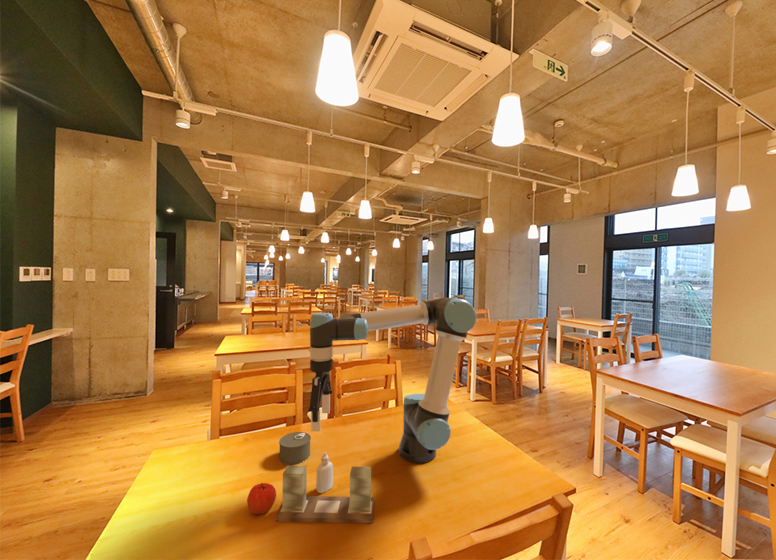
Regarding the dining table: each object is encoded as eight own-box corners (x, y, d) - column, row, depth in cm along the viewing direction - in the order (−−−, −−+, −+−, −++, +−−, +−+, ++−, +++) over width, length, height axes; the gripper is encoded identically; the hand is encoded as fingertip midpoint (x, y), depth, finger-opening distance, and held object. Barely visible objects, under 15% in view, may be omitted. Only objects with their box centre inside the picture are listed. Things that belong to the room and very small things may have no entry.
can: (272, 461, 119) (272, 443, 119) (292, 446, 130) (292, 429, 130) (297, 468, 114) (297, 449, 114) (316, 452, 126) (316, 435, 126)
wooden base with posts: (374, 501, 97) (374, 462, 97) (372, 523, 88) (373, 480, 88) (286, 499, 98) (286, 460, 98) (275, 521, 89) (276, 478, 89)
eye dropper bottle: (315, 486, 104) (315, 450, 104) (332, 482, 106) (332, 447, 106) (316, 494, 100) (317, 457, 100) (334, 491, 102) (334, 454, 102)
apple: (241, 519, 89) (242, 491, 90) (255, 499, 97) (255, 474, 98) (268, 520, 89) (269, 492, 89) (279, 501, 97) (280, 475, 97)
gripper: (319, 350, 117) (319, 406, 117) (298, 368, 92) (298, 439, 92) (339, 350, 117) (339, 406, 117) (323, 368, 92) (323, 440, 92)
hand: (321, 421), depth 105 cm, fingers open, 13 cm apart
